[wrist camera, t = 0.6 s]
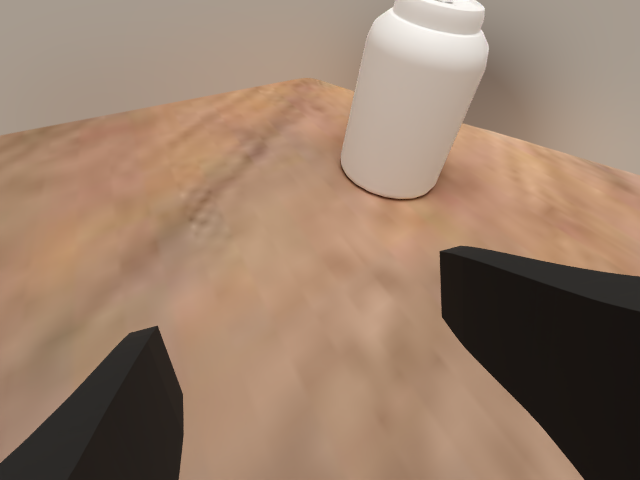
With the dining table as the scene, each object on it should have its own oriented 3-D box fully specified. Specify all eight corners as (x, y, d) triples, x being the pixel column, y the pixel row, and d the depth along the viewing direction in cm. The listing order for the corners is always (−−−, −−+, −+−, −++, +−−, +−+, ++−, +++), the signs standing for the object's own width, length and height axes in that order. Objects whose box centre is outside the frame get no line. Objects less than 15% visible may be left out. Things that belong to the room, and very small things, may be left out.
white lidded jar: (332, 143, 54) (366, -31, 40) (417, 149, 56) (476, -12, 42) (348, 199, 45) (399, 1, 31) (448, 204, 47) (536, 22, 34)
